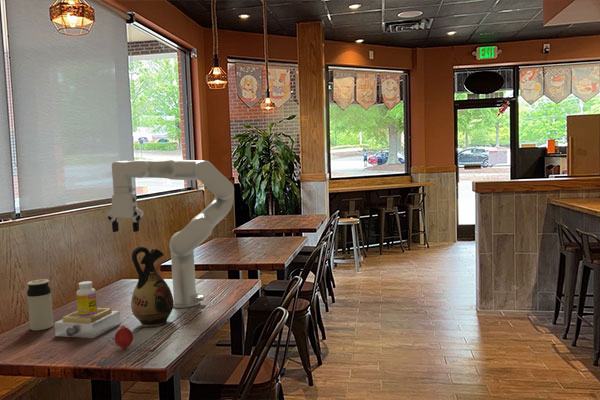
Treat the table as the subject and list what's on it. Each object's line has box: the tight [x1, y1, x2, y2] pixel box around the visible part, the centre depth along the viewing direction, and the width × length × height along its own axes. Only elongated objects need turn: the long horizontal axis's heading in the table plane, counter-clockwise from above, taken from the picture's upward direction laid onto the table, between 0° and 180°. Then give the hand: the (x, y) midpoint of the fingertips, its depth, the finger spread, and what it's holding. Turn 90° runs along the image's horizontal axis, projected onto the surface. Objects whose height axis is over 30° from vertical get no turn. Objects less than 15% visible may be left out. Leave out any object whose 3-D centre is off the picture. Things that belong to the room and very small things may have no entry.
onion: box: [114, 324, 134, 350], centre depth 165 cm, size 6×6×8 cm
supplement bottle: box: [75, 280, 98, 317], centre depth 186 cm, size 7×7×13 cm
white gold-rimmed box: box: [53, 307, 121, 339], centre depth 186 cm, size 16×18×6 cm
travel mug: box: [26, 278, 54, 332], centre depth 192 cm, size 8×8×18 cm
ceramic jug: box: [130, 246, 174, 328], centre depth 189 cm, size 17×15×30 cm
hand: (125, 231), depth 210 cm, fingers open, 9 cm apart
